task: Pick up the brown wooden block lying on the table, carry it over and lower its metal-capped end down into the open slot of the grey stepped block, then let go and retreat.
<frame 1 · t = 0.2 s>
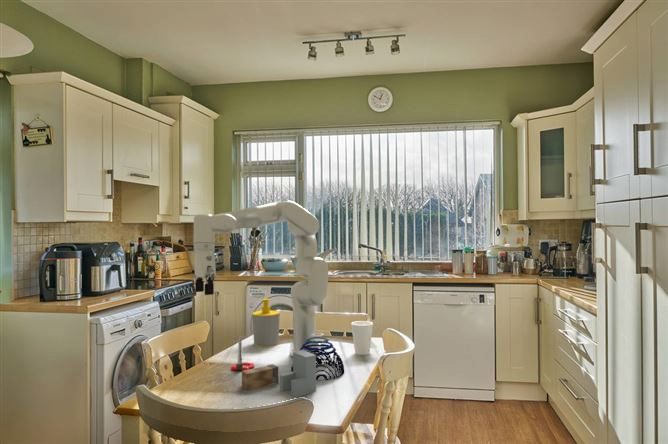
hand: (204, 293, 168), 31 cm above the table, tool pointing down, fingers open, 9 cm apart
foam cup: (362, 353, 196), on the table
soap bottle: (266, 344, 214), on the table
grey stepped block: (294, 391, 151), on the table
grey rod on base: (243, 368, 177), on the table
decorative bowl: (318, 372, 171), on the table
brown wooden block: (260, 384, 157), on the table
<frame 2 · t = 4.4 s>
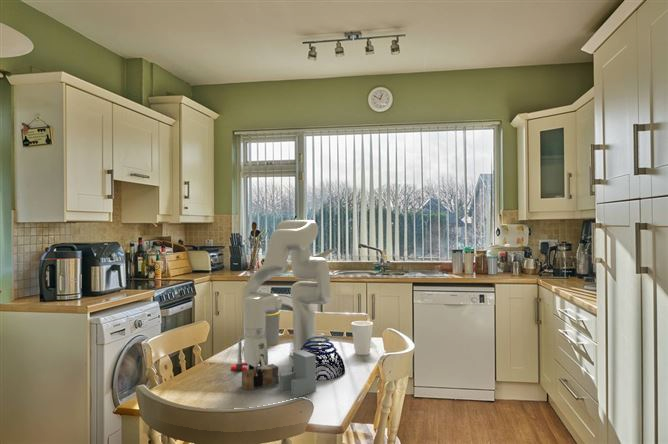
hand: (255, 384, 156), 1 cm above the table, tool pointing down, fingers closed on brown wooden block, 4 cm apart
brown wooden block: (260, 384, 157), on the table, touching gripper
everything else where it was.
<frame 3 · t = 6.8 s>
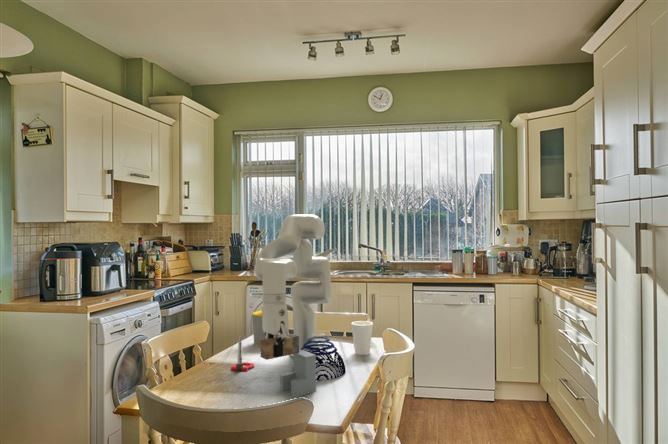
hand: (274, 354, 146), 14 cm above the table, tool pointing down, fingers closed on brown wooden block, 4 cm apart
brown wooden block: (279, 355, 147), point 13 cm above the table, touching gripper
everything else where it was.
when the fingers open (2 cm above the table, at t = 9.5 s): brown wooden block drops 1 cm, on the table.
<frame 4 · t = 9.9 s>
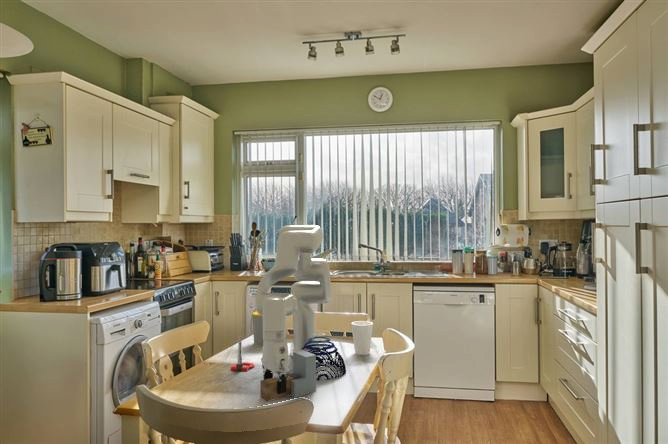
hand: (274, 389, 146), 2 cm above the table, tool pointing down, fingers open, 8 cm apart
brown wooden block: (279, 395, 147), on the table
everything else where it was.
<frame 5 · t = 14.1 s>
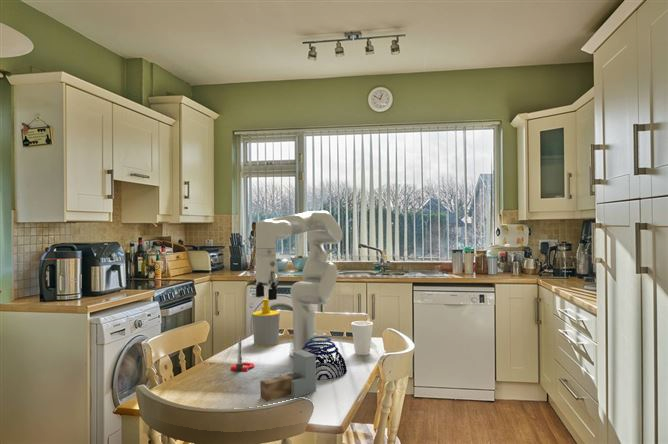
hand: (266, 298, 171), 28 cm above the table, tool pointing down, fingers open, 9 cm apart
at the end: brown wooden block 0.1 cm from the target spot, on the table; brown wooden block tilted 0°; the gripper is holding nothing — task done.
